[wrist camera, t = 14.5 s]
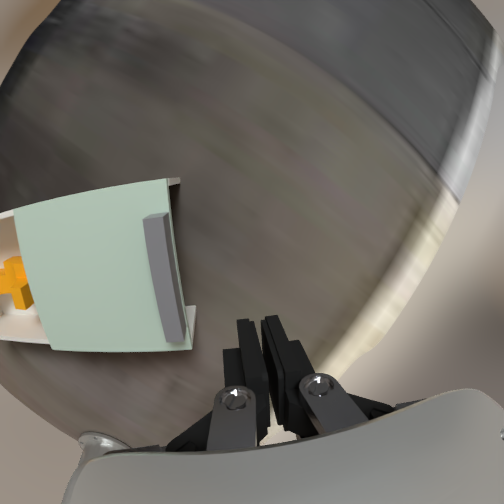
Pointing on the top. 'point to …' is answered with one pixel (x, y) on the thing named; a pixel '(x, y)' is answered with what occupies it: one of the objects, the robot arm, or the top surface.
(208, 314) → the top surface
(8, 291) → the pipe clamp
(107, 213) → the lid
